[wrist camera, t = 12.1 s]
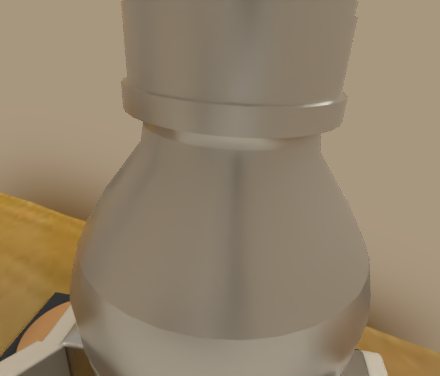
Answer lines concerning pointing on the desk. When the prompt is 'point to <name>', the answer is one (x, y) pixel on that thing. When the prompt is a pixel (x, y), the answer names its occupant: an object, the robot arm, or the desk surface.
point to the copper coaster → (42, 326)
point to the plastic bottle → (226, 199)
